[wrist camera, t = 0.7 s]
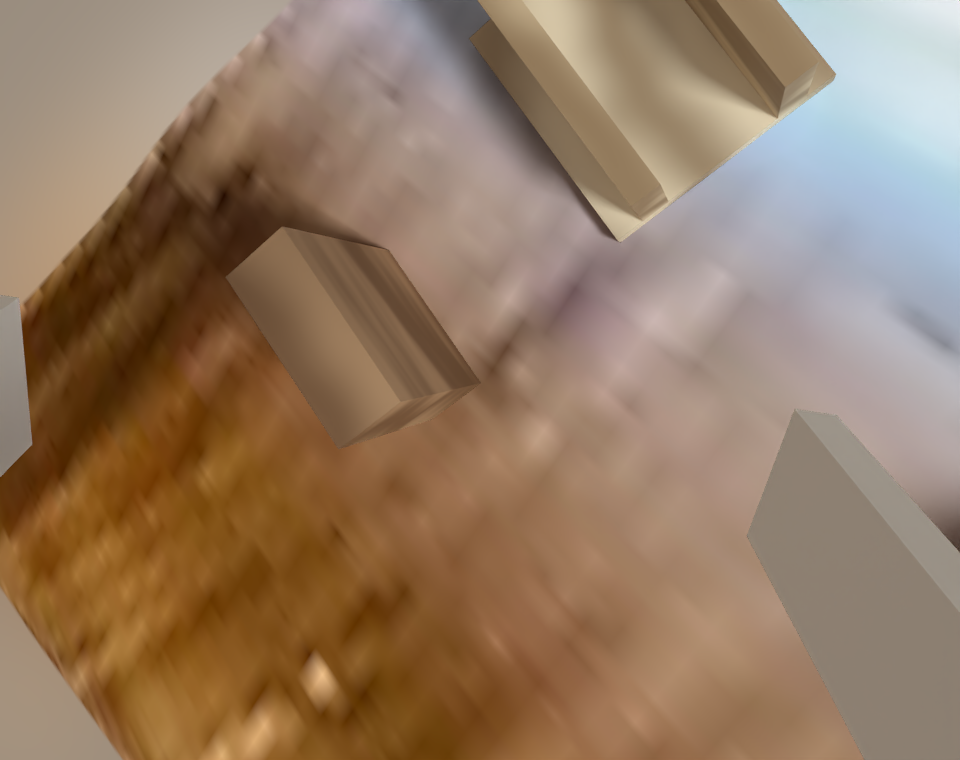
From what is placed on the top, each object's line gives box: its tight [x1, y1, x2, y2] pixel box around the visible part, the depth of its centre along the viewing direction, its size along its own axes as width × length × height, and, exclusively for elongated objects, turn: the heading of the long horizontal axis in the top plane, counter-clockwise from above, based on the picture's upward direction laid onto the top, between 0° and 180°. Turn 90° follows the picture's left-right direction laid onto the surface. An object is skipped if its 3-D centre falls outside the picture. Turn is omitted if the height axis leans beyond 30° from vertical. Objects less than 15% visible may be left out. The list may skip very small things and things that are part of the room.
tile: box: [226, 226, 480, 449], centre depth 38 cm, size 4×9×11 cm, turn 36°
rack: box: [469, 0, 836, 242], centre depth 36 cm, size 12×13×6 cm
